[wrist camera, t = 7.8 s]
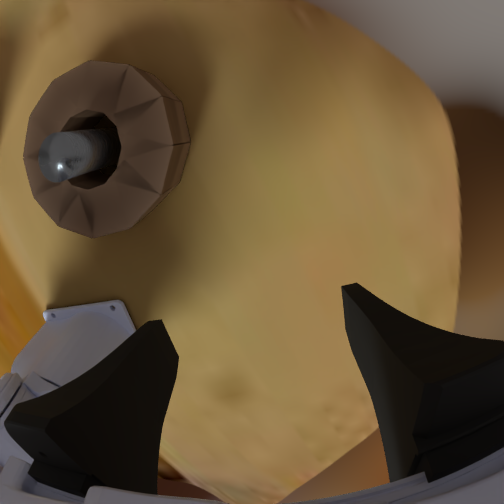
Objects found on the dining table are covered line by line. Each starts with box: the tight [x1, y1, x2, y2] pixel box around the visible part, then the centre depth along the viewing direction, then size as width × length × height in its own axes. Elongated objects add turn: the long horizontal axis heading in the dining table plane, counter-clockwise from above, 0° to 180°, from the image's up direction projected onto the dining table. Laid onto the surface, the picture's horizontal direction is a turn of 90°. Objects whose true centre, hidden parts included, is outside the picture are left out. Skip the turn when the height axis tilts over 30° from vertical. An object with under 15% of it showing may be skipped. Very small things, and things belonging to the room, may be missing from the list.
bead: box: [23, 61, 191, 238], centre depth 16 cm, size 10×10×4 cm
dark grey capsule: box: [38, 128, 122, 183], centre depth 15 cm, size 2×2×7 cm
